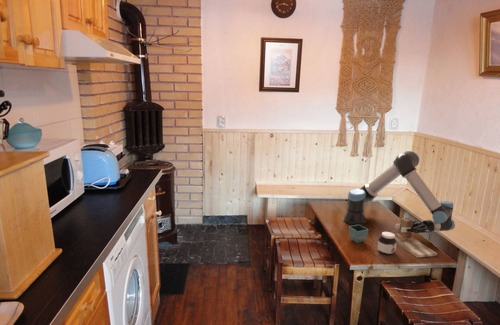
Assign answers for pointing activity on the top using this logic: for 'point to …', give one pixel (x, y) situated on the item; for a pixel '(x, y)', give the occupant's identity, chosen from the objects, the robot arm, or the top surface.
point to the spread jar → (387, 243)
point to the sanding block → (405, 235)
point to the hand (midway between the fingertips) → (398, 228)
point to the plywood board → (416, 248)
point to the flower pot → (358, 233)
